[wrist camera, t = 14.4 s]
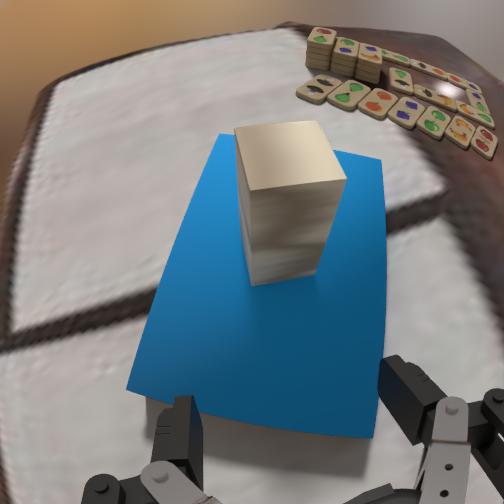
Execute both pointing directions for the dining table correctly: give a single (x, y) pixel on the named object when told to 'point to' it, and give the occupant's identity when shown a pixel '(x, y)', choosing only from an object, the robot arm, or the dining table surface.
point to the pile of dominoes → (386, 104)
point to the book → (271, 314)
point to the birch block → (285, 198)
